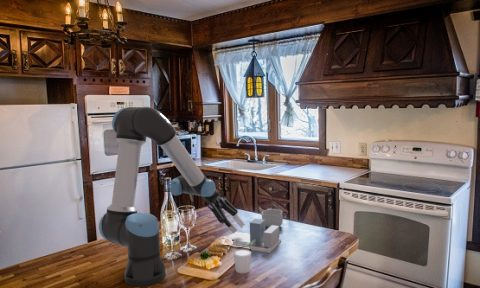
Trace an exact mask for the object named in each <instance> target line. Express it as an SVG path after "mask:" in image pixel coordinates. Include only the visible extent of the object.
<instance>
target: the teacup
mask: <svg viewBox="0 0 480 288" xmlns="http://www.w3.org/2000/svg"><path fill="white" fill-rule="evenodd" d="M283 213H284V212H283V211H282V210H281V209H278V208H267V209H265V210H263V211H261V219H262V220H265V228H267V229H268V228H269V227H270V226H272V225H275V226H279V227H280V226H282V224H283V222H284V221H283V220H284V219H283V218H284V217H283Z"/></svg>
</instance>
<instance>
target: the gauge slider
mask: <svg viewBox="0 0 480 288" xmlns="http://www.w3.org/2000/svg"><path fill="white" fill-rule="evenodd" d="M265 231H266V226H265V220H262V218H261V219H260V218H254V219H253V220H251V221H250V222H249V234H250V242H251V245H253V244H254V243H262V242H263V241H264V232H265Z"/></svg>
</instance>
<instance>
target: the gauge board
mask: <svg viewBox="0 0 480 288" xmlns="http://www.w3.org/2000/svg"><path fill="white" fill-rule="evenodd" d="M227 237H229V238H230V239H232V241H233V245H236V246H242V247H249V248H250V249H251V250H250V251H256V252H262V253H268V254H269V253H270V254H271V252H272V251H273V250H274V249H275V248H276V247H277V246H279V244H280V243H281V242H282V238H281V237H280V226H275V225H272V226H270V227H269V228H267V229H265V232H264V241H263V242H262V243H254V244H253V245H251V242H250V233H247V232H246V233H245V232H240V231H239V232H238V231H236V232H235V233H234V234H233V232H231V234H229V235H228V236H227Z"/></svg>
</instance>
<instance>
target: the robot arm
mask: <svg viewBox="0 0 480 288" xmlns="http://www.w3.org/2000/svg"><path fill="white" fill-rule="evenodd" d="M111 127H112V130H113V132H114V133H115V134H116V135H115V140H116V141H117V143H118V151H117V158H116V165H115V166H116V167H115V175H114V184H113V192H112V198H111V199H112V200H111V204H110V205H108V206H107V207H106V212H105V213H104V214H103V216H101V218H100V219H99V222H98V229H99V234H100V235H101V236H102V238H103V239H104V240H106V241H108V242H109V243H111V244H116V245H119V246H122V247H125V248H127V261H126V266H125V270H124V273H123V275H124V276H123V277H124V283H126V284H127V285H129V286H132V287H147V286H151V285H154V284H157V283H159V282H161V281H162V280H163V279H165V277H166V275H167V271H166V266H165V264H164V261H163V259H162V256H161V252H160V251H161V246H160V226H159V219H158V218H157V217H156V216H155V215H153V214H152V213H147V212H144V213H143V212H138V208H137V207H136V206H135V201H136V192H137V186H138V177H139V168H140V161H141V153H142V152H141V151H142V146H143V145H144V144H146V142H147V138H148V139H150V140H152V141H153V142H154V144H155V145H156V146H160V148H161V149H162V151H164V153H165V155H166V156H167V157H168V158H169V159H170V161H171V162H172V163H173V164H172V165H174V166H175V167H176V169H177V170H178V172H179V173H180V175H179V176H177V177H175V178H173V179H172V180H170V181H171V182H170V181H169V182H170V183H171V189H170V190H169V192H170V193H171V195H173V196H179V195H180V196H181V195H182V194H187V195H188V194H189V195H194V196H199V197H202V199H203V200H204V201H205V202H206V203H209V204H208V205H207V208H208V209H209V210H210V211H211V212H212V214H213V215H214V217H216V220H217V221H218V222H219V223H220V224H222V225H223V224H225V226H226V227H227V228H228V230H230V232H231V233H233V234H234V233H235V232H238V230H239V229H238V228H237V226H236V225H235V224H234V223H233V222H232V221H231V220H230V219H229V218H227V216H226V213H225V212H227V213H228V214H229V215H231V216H232V219H233V220H234V221H235V222H236V224H237V225H238V226H239V228H241V229H242V228H243V227H244V226H245V225H246V223H245V222H244V221H243V219H242V218H241V217H240V216H239V215H238V213H239V211H238V209H237V208H236V207H235V206H234V205H233V204H232V203H231V202H230V201H229V200H228V199H227V197H226V196H223V197H221V196H220V192H219V190H218V189H217V187H216V183H215V182H214V181H213V180H212V179H209V178H207V176H206V175H205V174H204V173H203V172H202V170H201V169H200V168H199V166H198V165H197V163H196V162H195V159H193V158H192V156H191V154H190V152H188V150H187V149H186V147H185V146H184V144H183V142H181V140H180V138H179V137H178V134H177V130H176V128H175V127H174V125H173V124H172V122H171V121H170V120H169V119H168V118H167V117H166V116H165V115H164V114H163V113H162V112H160V111H159V110H157V109H156V108H153V107H149V106H140V107H139V106H129V107H122V108H120V109H119V110H117V111H116V112H115V113H114V115H113V118H112V120H111ZM224 211H225V212H224Z"/></svg>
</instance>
